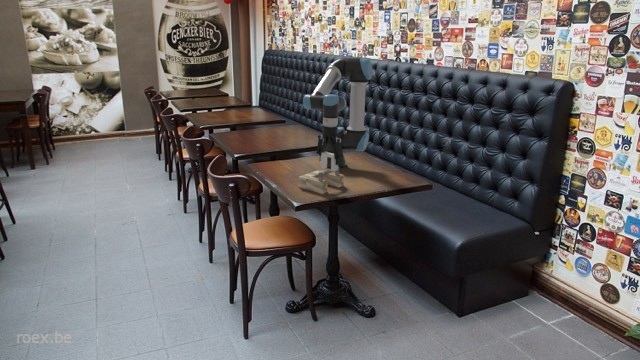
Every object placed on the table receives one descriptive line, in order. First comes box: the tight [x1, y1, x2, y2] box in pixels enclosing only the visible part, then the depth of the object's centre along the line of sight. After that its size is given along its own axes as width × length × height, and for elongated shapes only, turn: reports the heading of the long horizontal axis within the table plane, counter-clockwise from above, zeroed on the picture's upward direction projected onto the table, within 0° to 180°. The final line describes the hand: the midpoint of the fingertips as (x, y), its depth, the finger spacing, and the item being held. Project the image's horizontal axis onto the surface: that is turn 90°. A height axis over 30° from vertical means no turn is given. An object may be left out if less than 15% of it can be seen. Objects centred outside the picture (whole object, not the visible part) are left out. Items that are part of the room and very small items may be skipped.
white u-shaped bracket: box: [320, 152, 335, 173], centre depth 246 cm, size 3×8×8 cm, turn 51°
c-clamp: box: [298, 167, 345, 195], centre depth 252 cm, size 18×16×10 cm
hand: (328, 169), depth 247 cm, fingers closed on white u-shaped bracket, 8 cm apart
